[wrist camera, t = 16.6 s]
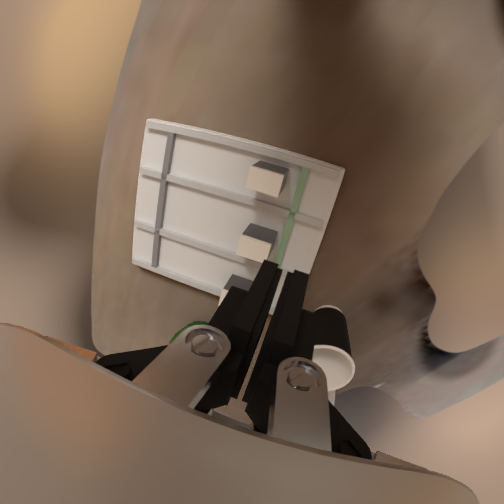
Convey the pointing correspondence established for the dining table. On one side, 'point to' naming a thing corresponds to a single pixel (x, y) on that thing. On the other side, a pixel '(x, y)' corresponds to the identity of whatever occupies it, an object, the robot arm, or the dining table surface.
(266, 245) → the block
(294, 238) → the board
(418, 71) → the dining table surface
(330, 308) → the dixie cup
